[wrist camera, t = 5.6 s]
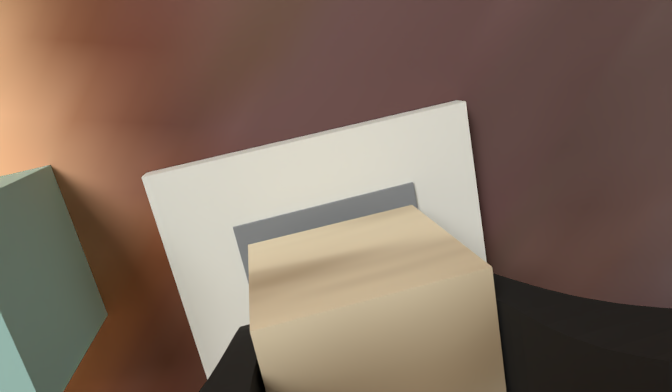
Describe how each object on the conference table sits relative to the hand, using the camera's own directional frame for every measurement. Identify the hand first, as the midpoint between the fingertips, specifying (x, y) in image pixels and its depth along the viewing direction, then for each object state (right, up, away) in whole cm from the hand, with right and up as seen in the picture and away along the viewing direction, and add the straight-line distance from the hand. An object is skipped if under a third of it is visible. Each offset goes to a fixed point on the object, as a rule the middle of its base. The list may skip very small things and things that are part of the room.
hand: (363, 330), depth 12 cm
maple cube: (0, 0, +2) cm, 2 cm away
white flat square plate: (-1, +1, +3) cm, 3 cm away
